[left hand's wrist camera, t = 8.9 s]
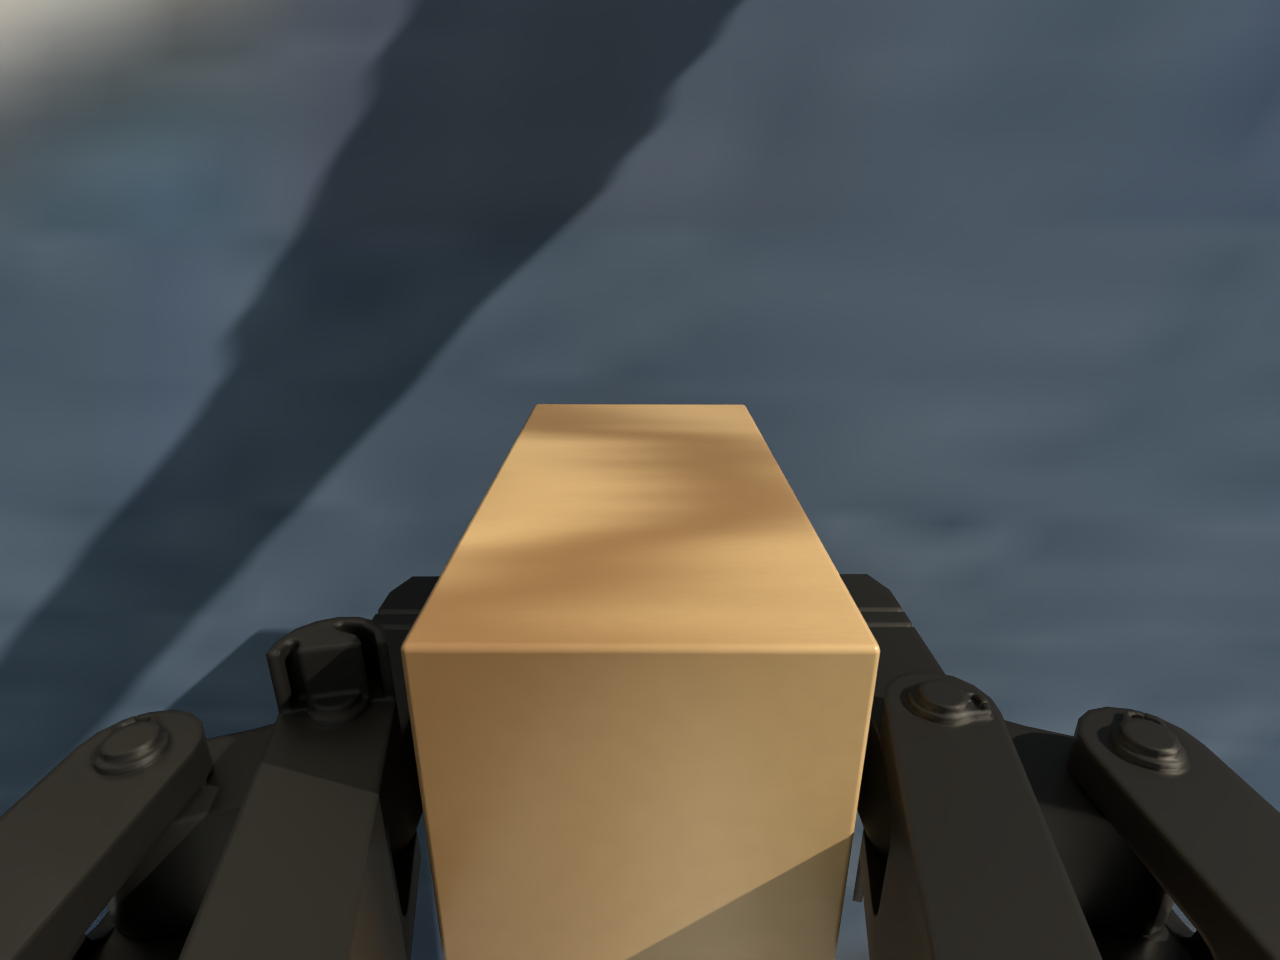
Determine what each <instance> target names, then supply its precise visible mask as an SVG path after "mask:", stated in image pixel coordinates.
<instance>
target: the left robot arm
mask: <svg viewBox="0 0 1280 960" xmlns="http://www.w3.org/2000/svg"><path fill="white" fill-rule="evenodd" d="M839 575H840V577H841V579H842V580H843V582H844V584H845V586H846V588H847V589H848V591H849V593H850V595H851V597H852V598H853V600H854V602H855V604H856V606H857V607H858V609H859V611H860V613H861V615H862V616H863V618H864V620H865V622H866V624H867V625H868V627H869V629H870V631H871V632H872V634H873V636H874V638H875V640H876V641H877V643H878V645H879V648H880V656H879V663H878V669H877V676H876V683H875V690H874V697H873V704H872V710H871V717H870V724H869V731H868V738H867V744H866V751H865V758H864V765H863V772H862V779H861V785H860V792H859V799H858V806H857V810H858V813H859V815H860V818H861V821H862V824H863V826H864V830H863V837H862V843H861V850H860V856H859V863H858V869H857V876H856V882H855V889H854V896H853V901H857V902H862V898H863V897H864V907H865V917H866V927H867V937H868V947H869V957H870V960H1280V813H1279V812H1278V811H1277V810H1276V809H1275V808H1274V807H1272V806H1271V805H1270V804H1269V803H1268V802H1267V801H1266V800H1265V799H1264V798H1263V797H1261V796H1260V795H1259V794H1258V793H1257V792H1256V791H1255V790H1254V789H1253V788H1251V787H1250V786H1249V785H1248V784H1247V783H1246V782H1245V781H1244V780H1243V779H1242V778H1240V777H1239V776H1238V775H1237V774H1236V773H1235V772H1234V771H1233V770H1232V769H1230V768H1229V767H1228V766H1227V765H1226V764H1225V763H1224V762H1223V761H1222V760H1220V759H1219V758H1218V757H1217V756H1216V755H1215V754H1214V753H1213V752H1212V751H1211V750H1209V749H1208V748H1207V747H1206V746H1205V745H1204V744H1202V743H1201V742H1200V741H1198V740H1197V739H1195V738H1194V737H1193V736H1191V735H1190V734H1189V733H1187V732H1186V731H1184V730H1183V729H1181V728H1179V727H1177V726H1175V725H1173V724H1171V723H1169V722H1166V721H1164V720H1162V719H1161V718H1159V717H1156V716H1153V715H1150V714H1147V713H1142V712H1140V711H1135V710H1132V709H1124V708H1114V707H1103V708H1098V709H1092V710H1088V711H1087V712H1086V713H1085V714H1084V715H1083V716H1081V717H1080V718H1079V719H1078V723H1077V726H1076V730H1075V734H1074V736H1070V735H1065V734H1060V733H1055V732H1051V731H1046V730H1041V729H1036V728H1032V727H1027V726H1023V725H1019V724H1016V723H1012V722H1009V721H1005V720H1004V719H1003V717H1002V714H1001V712H1000V710H999V709H998V708H997V706H996V705H995V703H994V702H993V701H992V699H991V698H990V697H989V696H987V695H986V694H985V693H983V692H982V691H981V690H979V689H978V688H977V687H975V686H974V685H972V684H969V683H967V682H965V681H963V680H960V679H958V678H956V677H954V676H949V675H945V673H944V672H943V670H942V669H941V667H940V666H939V664H938V663H937V661H936V660H935V658H934V657H933V655H932V654H931V652H930V650H929V649H928V647H927V646H926V644H925V643H924V641H923V640H922V638H921V637H920V635H919V634H918V632H917V631H916V629H915V628H914V627H912V623H911V622H910V620H909V619H908V617H907V615H906V614H905V612H902V608H901V606H900V605H899V603H898V602H897V600H896V599H895V597H894V596H893V594H892V593H891V591H890V590H889V589H888V588H886V587H885V586H883V585H882V584H880V583H879V582H878V581H876V580H875V579H873V578H872V577H870V576H869V575H867V574H839ZM438 579H439V577H411V578H410V579H408V580H407V581H405V582H404V583H403V584H401V585H400V586H398V587H397V588H395V589H394V590H393V591H391V592H390V593H389V595H388V596H387V598H386V599H385V601H384V602H383V604H382V605H381V607H380V608H379V610H378V614H376V615H375V616H374V618H373V619H372V620H369V619H365V618H361V617H336V618H331V619H326V620H321V621H316V622H313V623H311V624H308V625H306V626H303V627H300V628H298V629H295V630H293V631H292V632H290V633H289V634H287V635H286V636H284V637H283V638H281V639H279V640H278V641H277V642H276V643H275V644H274V645H273V646H272V648H271V649H270V650H269V651H268V652H267V654H266V657H267V661H268V666H269V670H270V674H271V679H272V683H273V687H274V692H275V696H276V700H277V705H278V709H279V715H278V718H277V720H276V723H274V724H271V725H267V726H264V727H260V728H257V729H252V730H248V731H243V732H238V733H234V734H229V735H224V736H220V737H215V738H210V739H206V736H205V732H204V729H203V725H202V722H201V721H200V720H199V719H198V718H196V717H195V716H194V715H193V714H192V713H187V712H182V711H177V710H167V711H157V712H149V713H146V714H141V715H138V716H133V717H131V718H128V719H125V720H122V721H120V722H118V723H116V724H114V725H112V726H110V727H108V728H106V729H104V730H102V731H100V732H98V733H96V734H95V735H94V736H92V737H91V738H89V739H88V740H87V741H85V742H84V743H83V744H81V745H80V746H78V747H77V748H76V749H75V750H74V751H72V752H71V753H70V754H69V755H68V756H67V757H66V758H65V759H64V760H63V761H62V762H60V763H59V764H58V765H57V766H56V767H55V768H54V769H53V770H52V771H51V772H49V773H48V774H47V775H46V776H45V777H44V778H43V779H42V780H41V781H40V782H38V783H37V784H36V785H35V786H34V787H33V788H32V789H31V790H30V791H29V792H27V793H26V794H25V795H24V796H23V797H22V798H21V799H20V800H19V801H18V802H16V803H15V804H14V805H13V806H12V807H11V808H10V809H9V810H8V811H7V812H6V813H4V814H3V815H2V816H1V817H0V960H410V959H411V949H412V939H413V929H414V919H415V909H416V899H417V889H418V879H419V869H420V859H421V857H420V850H419V843H418V837H417V830H416V829H417V826H418V823H419V820H420V817H421V815H422V812H423V808H422V801H421V794H420V787H419V779H418V772H417V765H416V758H415V751H414V743H413V736H412V729H411V722H410V715H409V707H408V700H407V693H406V686H405V679H404V671H403V664H402V657H401V650H400V649H401V646H402V643H403V641H404V640H405V638H406V636H407V634H408V633H409V631H410V629H411V627H412V625H413V624H414V622H415V620H416V618H417V616H418V615H419V613H420V611H421V609H422V607H423V606H424V604H425V602H426V600H427V598H428V597H429V595H430V593H431V591H432V590H433V588H434V586H435V584H436V582H437V581H438ZM1174 902H1175V904H1176V905H1177V906H1178V907H1179V908H1180V910H1181V911H1182V912H1183V913H1184V915H1185V916H1186V917H1187V918H1188V920H1189V921H1190V922H1191V923H1192V924H1193V926H1194V927H1195V928H1196V929H1197V931H1196V932H1195V933H1194V932H1192V931H1191V930H1190V929H1189V928H1188V927H1187V926H1186V925H1185V924H1184V923H1183V922H1182V921H1181V919H1180V918H1179V917H1178V916H1177V914H1176V913H1175V912H1174V911H1173V909H1172V905H1173V903H1174ZM106 905H107V907H108V909H109V911H108V913H107V914H106V915H105V917H104V918H103V919H102V920H101V922H100V923H99V924H98V925H97V926H96V927H95V928H94V929H93V930H92V931H91V932H90V933H88V934H87V935H85V934H84V933H85V931H86V930H87V929H88V928H89V926H90V925H91V924H92V923H93V921H94V920H95V919H96V918H97V916H98V915H99V914H100V913H101V912H102V910H103V909H104V908H105V907H106Z"/></svg>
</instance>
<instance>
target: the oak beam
mask: <svg viewBox="0 0 1280 960" xmlns="http://www.w3.org/2000/svg"><path fill="white" fill-rule="evenodd" d="M400 650H401V657H402V664H403V671H404V679H405V686H406V693H407V700H408V707H409V715H410V722H411V729H412V736H413V743H414V751H415V758H416V765H417V772H418V779H419V787H420V794H421V801H422V808H423V815H424V822H425V830H426V837H427V844H428V851H429V858H430V866H431V873H432V880H433V887H434V894H435V902H436V909H437V916H438V923H439V930H440V938H441V945H442V952H443V959H444V960H835V956H836V949H837V942H838V935H839V929H840V922H841V915H842V908H843V901H844V895H845V888H846V881H847V874H848V867H849V860H850V854H851V847H852V840H853V833H854V826H855V819H856V813H857V806H858V799H859V792H860V785H861V779H862V772H863V765H864V758H865V751H866V744H867V738H868V731H869V724H870V717H871V710H872V704H873V697H874V690H875V683H876V676H877V669H878V663H879V656H880V648H879V645H878V643H877V641H876V640H875V638H874V636H873V634H872V632H871V631H870V629H869V627H868V625H867V624H866V622H865V620H864V618H863V616H862V615H861V613H860V611H859V609H858V607H857V606H856V604H855V602H854V600H853V598H852V597H851V595H850V593H849V591H848V589H847V588H846V586H845V584H844V582H843V580H842V579H841V577H840V575H839V573H838V572H837V570H836V568H835V566H834V564H833V563H832V561H831V559H830V557H829V555H828V554H827V552H826V550H825V548H824V546H823V545H822V543H821V541H820V539H819V537H818V536H817V534H816V532H815V530H814V528H813V527H812V525H811V523H810V521H809V519H808V518H807V516H806V514H805V512H804V511H803V509H802V507H801V505H800V503H799V502H798V500H797V498H796V496H795V494H794V493H793V491H792V489H791V487H790V485H789V484H788V482H787V480H786V478H785V476H784V475H783V473H782V471H781V469H780V467H779V466H778V464H777V462H776V460H775V459H774V457H773V455H772V453H771V451H770V450H769V448H768V446H767V444H766V442H765V441H764V439H763V437H762V435H761V433H760V432H759V430H758V428H757V426H756V424H755V423H754V421H753V419H752V417H751V415H750V414H749V412H748V410H747V408H746V407H745V406H744V405H621V404H537V405H535V407H534V409H533V410H532V412H531V414H530V416H529V418H528V419H527V421H526V423H525V425H524V427H523V428H522V430H521V432H520V434H519V435H518V437H517V439H516V441H515V443H514V444H513V446H512V448H511V450H510V452H509V453H508V455H507V457H506V459H505V461H504V462H503V464H502V466H501V468H500V470H499V471H498V473H497V475H496V477H495V478H494V480H493V482H492V484H491V486H490V487H489V489H488V491H487V493H486V495H485V496H484V498H483V500H482V502H481V504H480V505H479V507H478V509H477V511H476V513H475V514H474V516H473V518H472V520H471V521H470V523H469V525H468V527H467V529H466V530H465V532H464V534H463V536H462V538H461V539H460V541H459V543H458V545H457V547H456V548H455V550H454V552H453V554H452V555H451V557H450V559H449V561H448V563H447V564H446V566H445V568H444V570H443V572H442V573H441V575H440V577H439V579H438V581H437V582H436V584H435V586H434V588H433V590H432V591H431V593H430V595H429V597H428V598H427V600H426V602H425V604H424V606H423V607H422V609H421V611H420V613H419V615H418V616H417V618H416V620H415V622H414V624H413V625H412V627H411V629H410V631H409V633H408V634H407V636H406V638H405V640H404V641H403V643H402V646H401V649H400Z"/></svg>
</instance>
